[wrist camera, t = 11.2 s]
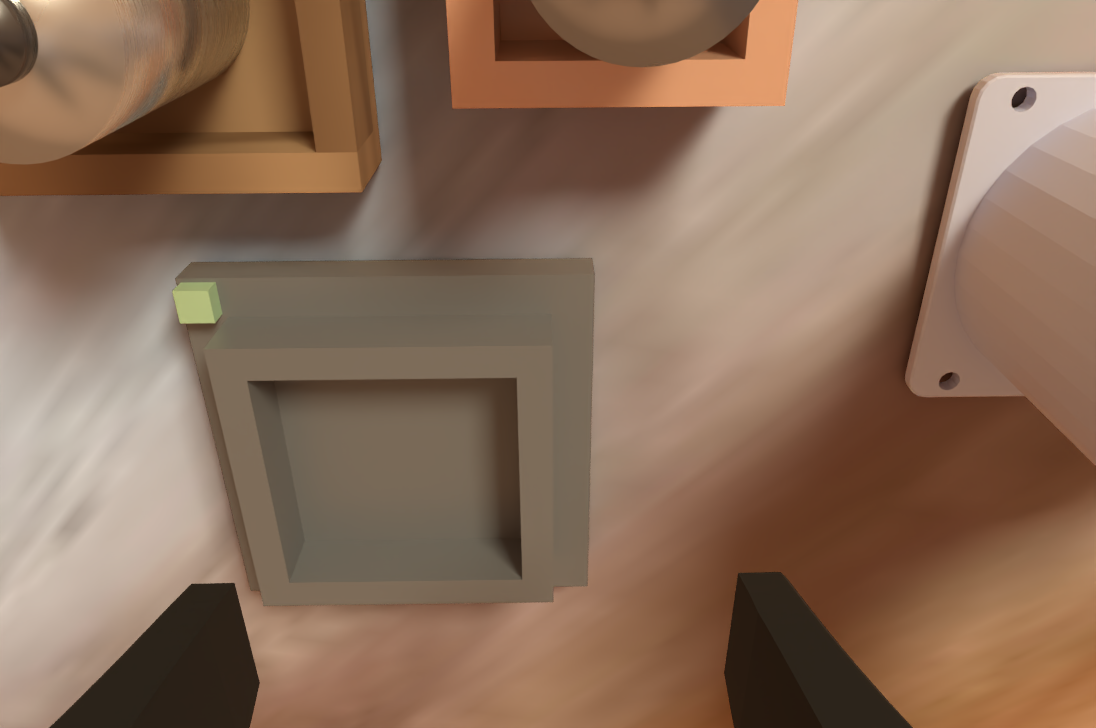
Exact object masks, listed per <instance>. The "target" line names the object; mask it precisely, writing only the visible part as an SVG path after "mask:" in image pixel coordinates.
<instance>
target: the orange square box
mask: <svg viewBox="0 0 1096 728" xmlns="http://www.w3.org/2000/svg"><path fill="white" fill-rule="evenodd" d="M797 5H798V0H759V2H758V3H757V4H756V6H755V7H754V9H753V10H752V11H751V12H750V14H749V15H748V16H747V17H746V18H745V19H744V20H743V21H742V22H741V24H740V25H739V26H738V27H736V28H735V29H734V30H733V31H732V32H731V33H730V34H728V35H727V36H726V37H725V38H724V39H722V40H721V41H719V42H718V43H716V44H715V45H713V46H712V47H710V48H709V49H707V50H705V51H703V52H701V53H699V54H697V55H695V56H693V57H690V58H688V59H685V60H682V61H679V62H676V63H672V64H667V65H662V66H655V67H628V66H621V65H616V64H611V63H608V62H605V61H602V60H599V59H596V58H593V57H591V56H589V55H588V54H586V53H584V52H582V51H580V50H578V49H576V48H575V47H574V46H572V45H571V44H569V43H568V42H567V41H565V40H564V39H563V38H561V37H560V36H559V35H558V34H557V33H556V32H555V31H554V30H553V29H552V28H551V27H550V26H549V25H548V24H547V22H546V21H545V20H544V19H543V18H542V16H541V15H540V14H539V13H538V11H537V10H536V8H535V6H534V5H533V3H532V2H531V0H446V11H447V28H448V45H449V61H450V78H451V94H452V109H457V108H574V107H690V106H785V98H786V90H787V83H788V75H789V67H790V60H791V52H792V44H793V36H794V29H795V21H796V13H797Z"/></svg>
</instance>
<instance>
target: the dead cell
mask: <svg viewBox="0 0 1096 728" xmlns="http://www.w3.org/2000/svg"><path fill="white" fill-rule="evenodd" d="M531 2H532V3H533V5H534V6H535V8H536V10H537V11H538V13H539V14H540V15H541V16H542V18H543V19H544V20H545V21H546V22H547V24H548V25H549V26H550V27H551V28H552V29H553V30H554V31H555V32H556V33H557V34H558V35H559V36H560V37H561V38H563V39H564V40H565V41H567V42H568V43H569V44H571V45H572V46H574V47H575V48H576V49H578V50H580V51H582V52H584V53H586V54H588V55H589V56H591V57H593V58H596V59H599V60H602V61H605V62H608V63H611V64H616V65H621V66H628V67H655V66H662V65H667V64H672V63H676V62H679V61H682V60H685V59H688V58H690V57H693V56H695V55H697V54H699V53H701V52H703V51H705V50H707V49H709V48H710V47H712V46H713V45H715V44H716V43H718V42H719V41H721V40H722V39H724V38H725V37H726V36H727V35H728V34H730V33H731V32H732V31H733V30H734V29H735V28H736V27H738V26H739V25H740V24H741V22H742V21H743V20H744V19H745V18H746V17H747V16H748V15H749V14H750V12H751V11H752V10H753V9H754V7H755V6H756V4H757V3H758V2H759V0H531Z"/></svg>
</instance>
